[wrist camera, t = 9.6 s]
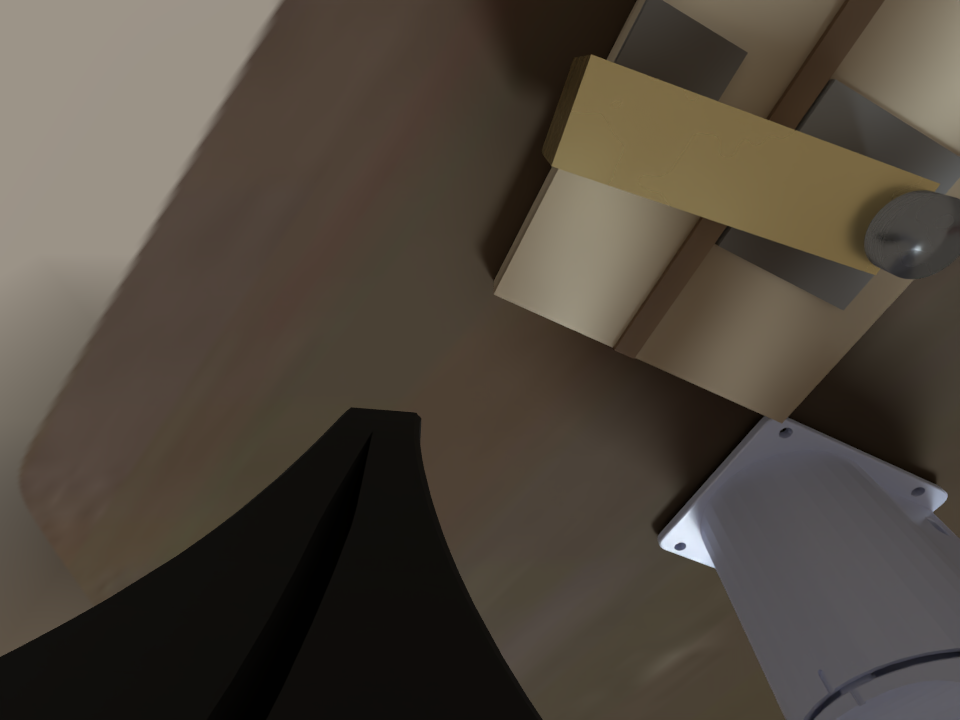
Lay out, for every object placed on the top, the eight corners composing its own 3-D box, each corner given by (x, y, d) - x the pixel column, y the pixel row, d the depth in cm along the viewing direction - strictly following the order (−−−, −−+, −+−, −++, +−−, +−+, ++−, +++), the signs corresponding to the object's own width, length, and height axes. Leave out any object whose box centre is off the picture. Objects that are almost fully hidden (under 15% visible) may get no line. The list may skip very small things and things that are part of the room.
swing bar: (897, 177, 15) (999, 202, 12) (845, 255, 16) (928, 296, 13) (573, 57, 14) (597, 52, 11) (540, 151, 15) (554, 171, 12)
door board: (1401, -316, 12) (1520, -366, 10) (766, 405, 21) (785, 428, 19) (1017, -748, 9) (1106, -885, 8) (493, 281, 18) (493, 297, 17)
